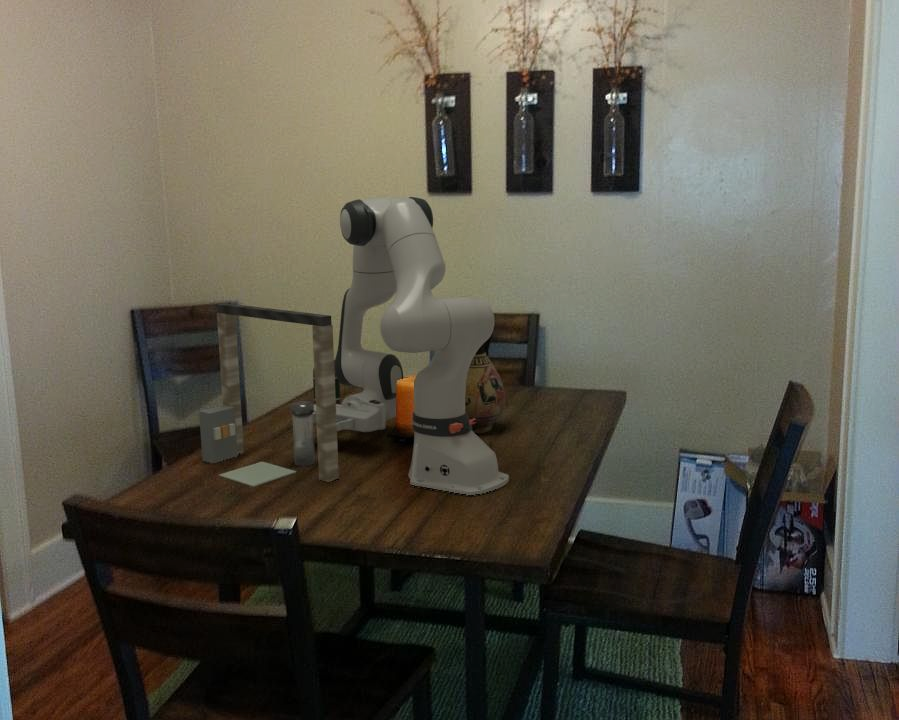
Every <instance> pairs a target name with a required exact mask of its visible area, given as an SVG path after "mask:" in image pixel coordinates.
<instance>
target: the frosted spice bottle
mask: <svg viewBox="0 0 899 720" xmlns="http://www.w3.org/2000/svg"><path fill="white" fill-rule="evenodd" d="M313 413H314V401H307V400H303V401H295V402H292V403H290V414H291V415H292V428H293V429H292V433H293V435H292V436H293V451H294V452H293V453H294V454H293V455H294V456H293V457H294V464H295V465H296V466H300V467H305V466H312V465H314V464H315V463H316V458H315V456H316V455H315V453H316V452H315V434H314V432H315V431H314V423H313Z"/></svg>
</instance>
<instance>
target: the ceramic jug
mask: <svg viewBox="0 0 899 720" xmlns="http://www.w3.org/2000/svg"><path fill="white" fill-rule="evenodd" d="M493 333H494V331H493V332H492V334H491V336H490V337H489V339H488V340H487V341H485V342H484V343H483V344H482V346H481V347H480V348H479V349H478V351H477V352H476V354H475V356H474V358H473V360H472V362H471V364H470V367H469V370H468V373H467V379H466V393H465V411H466V412H467V414H468V417H469V420H470V419H473V418H476V419H475V420H474V421H473V422H476V423H474V424H471V426H472V431H473V432H474V433H479V434H485V433H487V432H490V431H491V430H492V428H493V426H494V424H495V422H496V421H497V420H498V419H499V417H501V415H502V413H503V411H504V409H505V405H506V393H505V389H504V384H503V381H502V379H501V377H500V375H499V373H498V371H497V369H496V368H495V365H494V364H493V363H492V361H491V359H490V358H489V355H490V354H489V349H490V348H491V347H490V346H491V342H492V338H493Z"/></svg>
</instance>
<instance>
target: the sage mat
mask: <svg viewBox="0 0 899 720" xmlns="http://www.w3.org/2000/svg"><path fill="white" fill-rule="evenodd" d="M296 473H297V470H293V469H290V468H286V467H282V466H280V465H275V464H272V463H269V462H265V461H259V462H256V463H253V464H250V465H246V466H242V467H239V468H237V469H234V470H230V471H227V472H224V473H221V474H218V476H219V477H221V478H225V479H227V480H230V481H234V482H237V483H240V484H243V485H246V486H250V487H252V488H255V487H257V486H260V485H264V484H267V483H269V482H270V483H271V482H272V481H273V482H274V481H275V480H278V479H283V478H285V477H287V476H290V475H295V474H296Z"/></svg>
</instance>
